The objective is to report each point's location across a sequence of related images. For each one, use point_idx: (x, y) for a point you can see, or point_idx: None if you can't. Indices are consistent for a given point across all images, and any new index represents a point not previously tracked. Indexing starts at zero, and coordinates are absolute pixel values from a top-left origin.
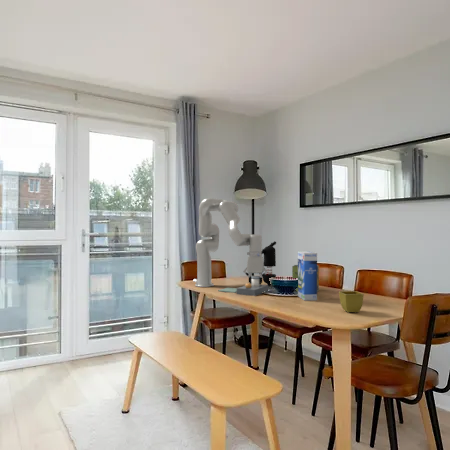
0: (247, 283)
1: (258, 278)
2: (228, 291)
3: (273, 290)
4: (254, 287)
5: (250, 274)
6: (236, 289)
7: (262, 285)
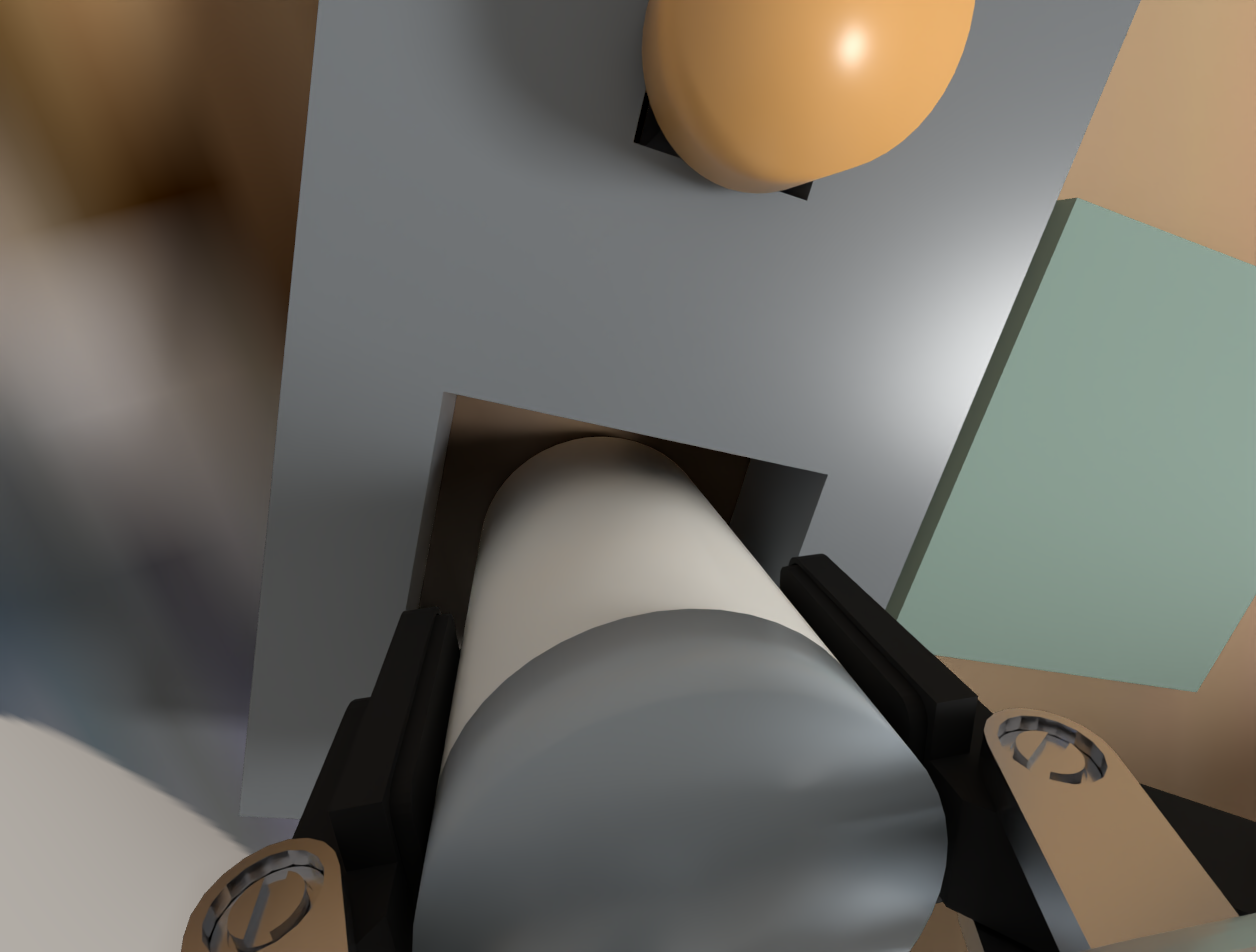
0: (894, 144)
1: (468, 741)
2: (1212, 252)
3: (217, 807)
4: (565, 275)
5: (1069, 878)
6: (1042, 547)
7: None
